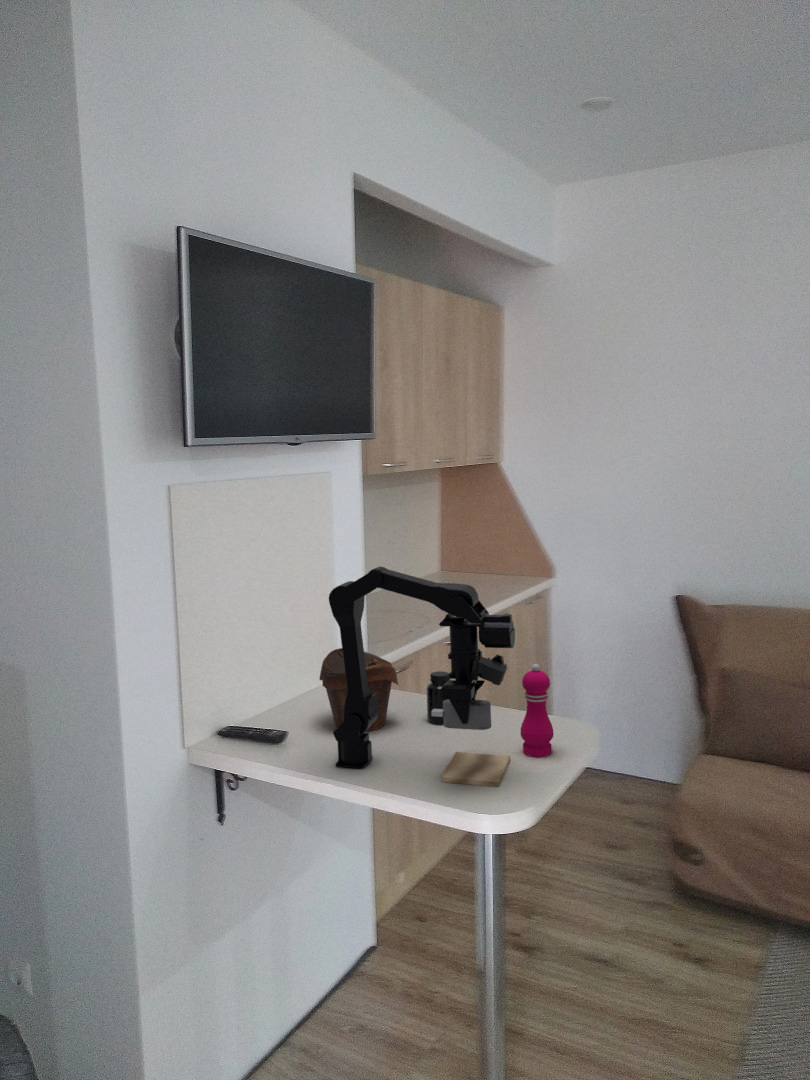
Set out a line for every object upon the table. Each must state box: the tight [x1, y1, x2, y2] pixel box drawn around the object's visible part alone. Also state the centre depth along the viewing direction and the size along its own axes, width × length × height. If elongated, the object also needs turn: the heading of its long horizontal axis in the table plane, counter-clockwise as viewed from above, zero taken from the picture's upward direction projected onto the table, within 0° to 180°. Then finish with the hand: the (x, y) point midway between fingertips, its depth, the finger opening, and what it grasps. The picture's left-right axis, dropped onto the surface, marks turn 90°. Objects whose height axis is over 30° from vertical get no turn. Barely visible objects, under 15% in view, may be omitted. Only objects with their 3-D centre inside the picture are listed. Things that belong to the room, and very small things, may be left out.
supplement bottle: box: [426, 670, 451, 725], centre depth 203 cm, size 7×7×12 cm
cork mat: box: [440, 751, 511, 788], centre depth 172 cm, size 12×14×1 cm
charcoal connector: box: [431, 699, 492, 731], centre depth 170 cm, size 12×4×5 cm, turn 73°
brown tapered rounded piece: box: [319, 647, 399, 732], centre depth 202 cm, size 18×20×18 cm
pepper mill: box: [520, 663, 554, 758], centre depth 180 cm, size 7×7×20 cm
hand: (467, 720), depth 170 cm, fingers closed on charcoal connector, 4 cm apart
